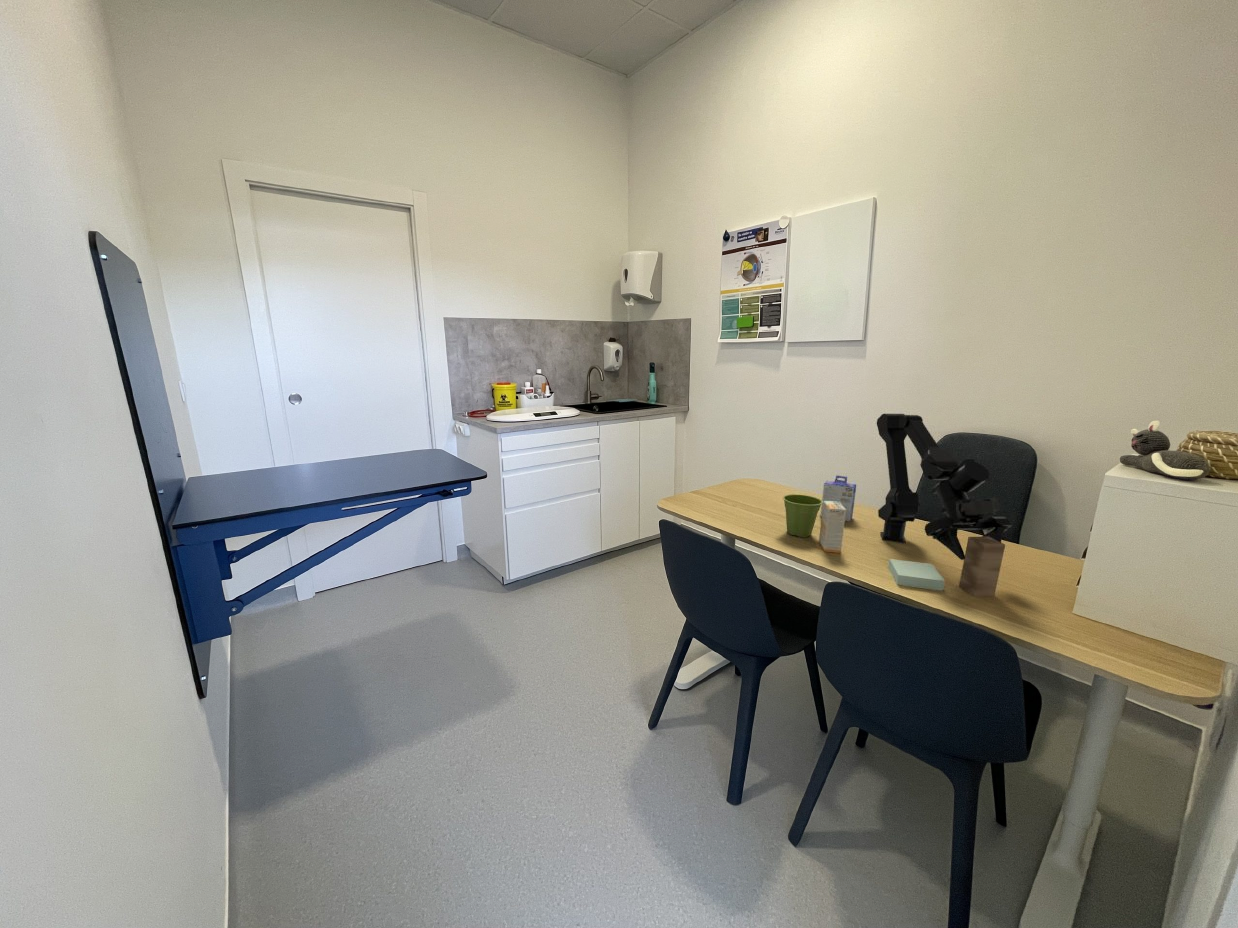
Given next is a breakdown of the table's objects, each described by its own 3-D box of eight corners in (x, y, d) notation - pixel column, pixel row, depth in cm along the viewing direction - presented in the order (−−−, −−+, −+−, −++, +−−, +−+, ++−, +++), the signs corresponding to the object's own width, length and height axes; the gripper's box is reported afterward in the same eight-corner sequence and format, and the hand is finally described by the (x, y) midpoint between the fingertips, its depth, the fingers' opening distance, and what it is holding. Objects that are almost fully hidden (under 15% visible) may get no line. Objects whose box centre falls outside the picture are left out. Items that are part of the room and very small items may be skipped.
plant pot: (826, 535, 152) (831, 501, 150) (803, 543, 146) (807, 507, 143) (794, 524, 162) (798, 491, 159) (771, 530, 155) (774, 497, 153)
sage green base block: (887, 569, 130) (889, 558, 130) (930, 574, 127) (932, 564, 127) (896, 585, 121) (898, 574, 120) (942, 592, 118) (944, 580, 117)
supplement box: (841, 553, 139) (847, 509, 136) (823, 551, 140) (828, 508, 137) (835, 542, 147) (840, 501, 144) (818, 541, 148) (823, 499, 145)
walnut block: (958, 585, 120) (968, 536, 117) (978, 585, 121) (988, 536, 118) (974, 595, 116) (984, 544, 113) (994, 595, 116) (1005, 544, 113)
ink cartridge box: (852, 517, 169) (858, 477, 166) (850, 522, 165) (856, 481, 161) (822, 512, 174) (827, 473, 171) (819, 516, 170) (824, 476, 166)
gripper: (940, 485, 117) (967, 546, 109) (1012, 485, 119) (1044, 545, 111) (913, 506, 127) (936, 564, 119) (981, 506, 128) (1008, 563, 120)
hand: (981, 558), depth 117 cm, fingers open, 9 cm apart
